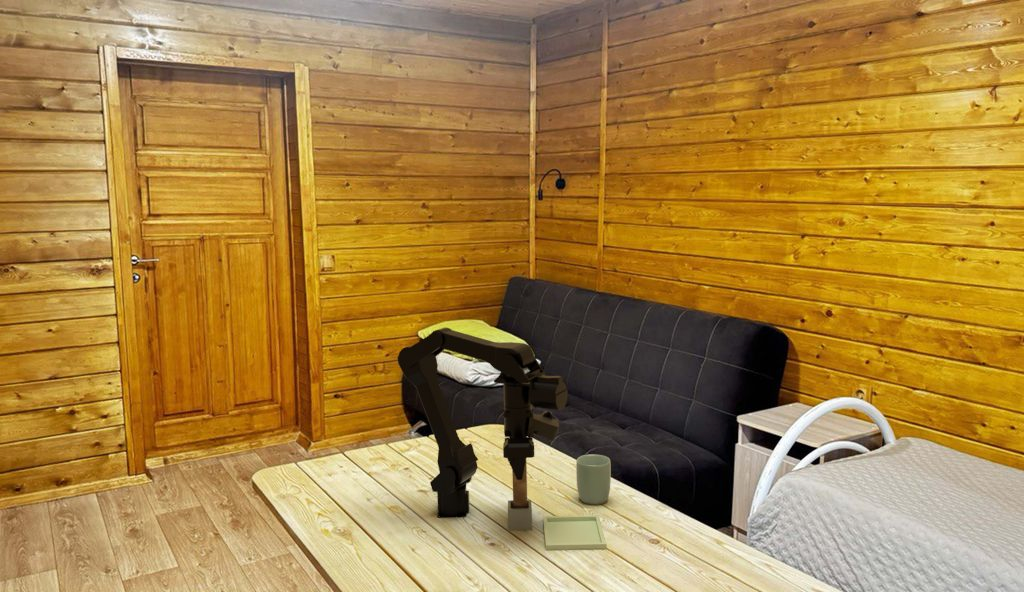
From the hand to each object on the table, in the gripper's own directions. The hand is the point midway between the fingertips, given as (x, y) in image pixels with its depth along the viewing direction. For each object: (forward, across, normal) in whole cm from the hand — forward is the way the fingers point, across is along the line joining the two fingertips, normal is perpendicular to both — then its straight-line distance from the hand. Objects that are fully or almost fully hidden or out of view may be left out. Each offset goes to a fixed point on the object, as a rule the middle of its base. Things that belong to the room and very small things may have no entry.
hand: (519, 476), depth 166 cm
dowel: (+6, 0, 0) cm, 6 cm away
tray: (+11, -5, -11) cm, 16 cm away
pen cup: (+11, 0, 0) cm, 11 cm away
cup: (+12, +13, -17) cm, 24 cm away
